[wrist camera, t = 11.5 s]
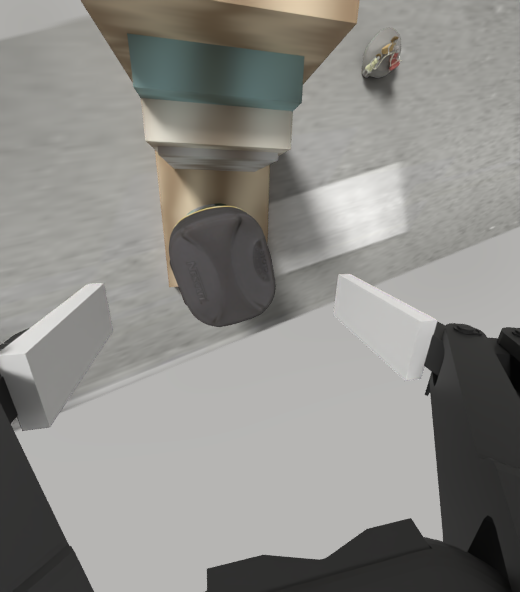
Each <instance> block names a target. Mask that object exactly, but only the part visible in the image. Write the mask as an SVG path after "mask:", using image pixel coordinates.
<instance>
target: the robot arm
mask: <svg viewBox="0 0 520 592" xmlns="http://www.w3.org/2000/svg"><path fill="white" fill-rule="evenodd" d="M333 315H334V316H335V317H336V318H337V319H338V320H339V321H340V322H341V323H342V324H343V325H344V326H346V327H347V328H348V329H349V330H350V331H351V332H352V333H353V334H354V335H355V336H356V337H358V338H359V339H360V340H361V341H362V342H363V343H364V344H365V345H366V346H367V347H369V348H370V349H371V350H372V351H373V352H374V353H375V354H376V355H377V356H378V357H380V358H381V359H382V360H383V361H384V362H385V363H386V364H387V365H388V366H389V367H391V368H392V369H393V370H394V371H395V372H396V373H397V374H398V375H399V376H400V377H402V378H403V379H404V380H405V381H408V380H415V379H421V376H422V373H423V370H424V366H425V367H427V368H428V369H429V370H431V371H432V373H431V376H430V379H429V383H428V386H427V389H426V393H425V395H427V396H428V394H429V393H431V404H432V416H433V427H434V439H435V450H436V461H437V473H438V484H439V495H440V506H441V516H442V517H441V518H442V529H443V542H442V541H439V540H434V539H430V538H425V537H423V536H422V535H421V533H420V531H419V530H418V529H417V527H416V525H415V524H414V522H413V521H412V519H411V518H410V519H406V520H402V521H398V522H394V523H390V524H385V525H382V526H377V527H373V528H369V529H366V530H365V531H364V532H362V533H361V534H359V535H358V536H356V537H355V538H354V539H352V540H351V541H349V542H348V543H347V544H346V545H344V546H342V547H341V548H340V549H338V550H337V551H336V552H334V553H333V554H331V555H330V556H329V557H327V558H325V559H321V560H315V559H304V558H293V557H281V556H270V555H261V556H257V557H253V558H249V559H245V560H241V561H237V562H233V563H229V564H225V565H221V566H217V567H213V568H208V569H207V591H205V592H520V328H510V327H506V328H502V330H501V332H500V335H499V337H498V339H497V338H487V337H486V335H485V334H484V333H483V332H482V331H480V330H478V329H475V328H473V327H471V326H469V325H465V324H455V323H454V324H447V325H446V326H445V325H443V324H441V323H439V322H438V321H437V320H436V319H434V318H432V317H430V316H429V315H427V314H425V313H423V312H421V311H419V310H417V309H415V308H414V307H412V306H410V305H408V304H406V303H404V302H402V301H400V300H398V299H397V298H395V297H392V296H391V295H389V294H387V293H385V292H383V291H381V290H379V289H377V288H376V287H374V286H372V285H370V284H368V283H366V282H364V281H362V280H361V279H359V278H357V277H355V276H353V275H351V274H339V275H338V282H337V290H336V298H335V305H334V313H333ZM112 332H113V326H112V321H111V316H110V311H109V306H108V301H107V296H106V290H105V285H104V283H95V284H87V285H85V286H84V287H83V288H82V289H80V290H79V291H78V292H76V293H75V294H74V295H72V296H71V297H70V298H69V299H67V300H66V301H65V302H63V303H62V304H61V305H59V306H58V307H57V308H56V309H54V310H53V311H52V312H50V313H49V314H48V315H46V316H45V317H44V318H43V319H41V320H40V321H39V322H37V323H36V324H35V325H33V326H32V327H31V328H28V329H26V330H24V331H22V332H20V333H17V334H15V335H14V336H12V337H11V338H10V339H8V340H7V341H6V342H4V344H1V345H0V592H94V591H93V589H92V587H91V585H90V583H89V581H88V578H87V576H86V574H85V573H84V570H83V568H82V566H81V564H80V562H79V560H78V558H77V556H76V554H75V552H74V551H73V549H72V547H71V546H69V544H68V543H67V540H66V538H65V536H64V534H63V532H62V530H61V528H60V526H59V524H58V522H57V520H56V518H55V516H54V514H53V511H52V509H51V507H50V505H49V503H48V501H47V499H46V497H45V495H44V493H43V491H42V489H41V487H40V485H39V482H38V481H37V478H36V476H35V474H34V472H33V470H32V468H31V466H30V464H29V462H28V460H27V457H26V456H25V453H24V451H23V449H22V447H21V445H20V443H19V441H18V439H17V437H16V435H15V432H14V430H13V428H12V426H11V423H12V421H13V420H14V419H15V418H16V417H17V418H18V421H19V423H20V426H21V428H22V431H25V430H33V429H41V428H48V427H50V426H51V425H52V423H53V422H54V420H55V419H56V417H57V416H58V414H59V413H60V411H61V410H62V408H63V407H64V405H65V404H66V402H67V401H68V399H69V398H70V396H71V395H72V393H73V391H74V390H75V388H76V387H77V385H78V384H79V382H80V381H81V379H82V378H83V376H84V375H85V373H86V372H87V370H88V369H89V367H90V366H91V364H92V363H93V361H94V359H95V358H96V356H97V355H98V353H99V352H100V350H101V349H102V347H103V346H104V344H105V343H106V341H107V340H108V338H109V337H110V335H111V334H112Z"/></svg>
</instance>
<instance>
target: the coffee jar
mask: <svg viewBox="0 0 520 592" xmlns="http://www.w3.org/2000/svg"><path fill="white" fill-rule="evenodd" d="M169 257H170V263H169V264H170V266H171V269H172V271H173V274H174V276H175V279H176V282H177V284H178V287H179V289H180V292H181V295H182V297H183V300H184V303H185V304H186V305H187V306H188V308H189V309H190V311H191V312H192V314H193V315H194V316H195V317H196V318H197V319H198V320H200V321H201V322H203V323H205V324H208V325H211V326H216V327H222V326H228V325H232V324H236V323H239V322H242V321H246V320H248V319H251V318H254V317H256V316H258V315H260V314H262V313H263V312H264V311H265V310H266V309H267V308H268V307H269V305H270V304H271V302H272V300H273V297H274V294H275V277H274V271H273V265H272V260H271V256H270V252H269V249H268V246H267V242H266V239H265V236H264V233H263V230H262V228H261V227H260V225H259V224H258V222H257V221H256V220H255V219H254V218H253V217H252V216H250V215H249V214H248V213H247V212H245V211H244V210H242V209H240V208H237V207H234V206H228V205H226V204H222V203H216V204H209V205H204V206H201V207H198V208H196V209H194V210H192V211H191V212H189V213H188V214H187V215H186V216H185V217H184V218H182V219H181V220H179V222H178V223H177V224H176V225H175V227H174V228H173V230H172V233H171V236H170V241H169Z"/></svg>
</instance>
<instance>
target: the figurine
mask: <svg viewBox="0 0 520 592" xmlns="http://www.w3.org/2000/svg"><path fill="white" fill-rule="evenodd" d="M400 52H401V38H400V35H399V33H398V32H397V31H396V30H395V29H393V28H385V29H383V30H381V31H380V32H378V33H377V34H376V35H375V37H374V38H373V39H372V41H371V42H370V43H369V44H368V46H367V47H366V49H365V52H364V56H363V65H362V74H363V76H364V77H366V78H367V77H369V76H371V77H375V78H381V77H382V76H386V75H387V74H388V73H390V72H391V70H394V69H395V68H396V67H397V66H398V65H399V64H400V63H399V61H401V60H400V57H399V56H400ZM398 58H399V59H398ZM402 61H403V60H402Z"/></svg>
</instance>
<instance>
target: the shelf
mask: <svg viewBox="0 0 520 592" xmlns="http://www.w3.org/2000/svg"><path fill="white" fill-rule="evenodd" d="M81 2H82V3H83V5H84V6H85V8H86V10H87V11H88V13H89V14H90V16H91V18H92V19H93V21H94V22H95V24H96V25H97V27H98V29H99V30H100V32H101V33H102V35H103V36H104V38H105V40H106V41H107V43H108V44H109V46H110V47H111V49H112V51H113V52H114V54H115V55H116V57H117V59H118V60H119V62H120V63H121V65H122V66H123V68H124V70H125V71H126V73H127V74H128V76H129V77H130V79H131V81H132V82H133V86H134V88H135V90H136V91H137V93H138V94H139V96H140V98H141V105H142V113H143V122H144V131H145V140H146V142H147V143H149V144H150V145H151V146H152V147H153V148H154V149H155V154H156V164H157V174H158V183H159V193H160V202H161V212H162V222H163V231H164V241H165V250H166V260H167V270H168V279H169V287H178V284H177V282H176V279H175V276H174V274H173V271H172V269H171V266H170V264H169V263H170V257H169V241H170V236H171V233H172V230H173V228H174V227H175V225H176V224H177V223H178V222H179V220H181V219H182V218H184V217H185V216H186V215H187V214H188V213H189V212H191V211H192V210H194V209H196V208H198V207H201V206H204V205H209V204H216V203H222V204H226V205H228V206H234V207H237V208H240V209H242V210H244V211H245V212H247V213H248V214H249V215H250V216H252V217H253V218H254V219H255V220H256V221H257V222H258V224H259V225H260V227H261V228H262V230H263V233H264V236H265V239H266V242H267V238H268V206H269V173H270V164H272V163H274V162H276V161H278V156H279V155H281V154H283V153H285V152H287V151H289V150H290V149H291V135H292V117H293V110H295V109H296V108H297V107H298V106H299V105H300V104H301V103H302V88H303V84H304V83H305V82H306V81H307V79H308V78H309V77H310V76H311V75H312V74H313V73H314V71H315V70H316V69H317V68H318V67H319V66H320V65H321V64H322V62H323V61H324V60H325V59H326V58H327V57H328V56H329V54H330V53H331V52H332V51H333V50H334V49H335V48H336V46H337V45H338V44H339V43H340V42H341V41H342V40H343V38H344V37H345V36H346V35H347V34H348V33H349V32H350V31H351V29H352V28H353V27H354V26H355V25H356V24H357V17H358V8H359V0H81Z"/></svg>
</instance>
